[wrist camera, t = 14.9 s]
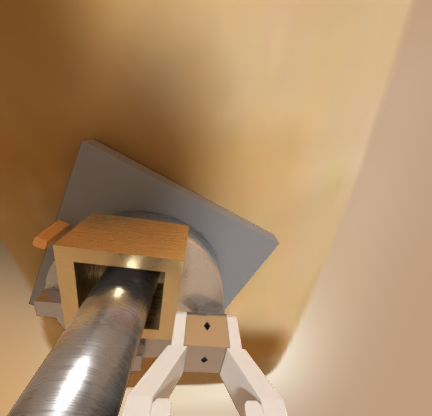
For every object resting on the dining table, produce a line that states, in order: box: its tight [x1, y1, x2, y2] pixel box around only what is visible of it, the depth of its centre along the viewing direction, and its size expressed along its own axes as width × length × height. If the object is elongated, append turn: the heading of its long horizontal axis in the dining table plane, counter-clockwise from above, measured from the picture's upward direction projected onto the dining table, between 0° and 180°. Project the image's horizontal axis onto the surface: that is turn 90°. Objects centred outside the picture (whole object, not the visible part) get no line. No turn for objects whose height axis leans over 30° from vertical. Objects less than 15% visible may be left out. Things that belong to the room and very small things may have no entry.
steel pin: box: [7, 266, 161, 416], centre depth 9 cm, size 3×3×9 cm
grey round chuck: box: [34, 211, 224, 371], centre depth 15 cm, size 14×13×6 cm
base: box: [29, 139, 279, 310], centre depth 18 cm, size 17×17×4 cm
